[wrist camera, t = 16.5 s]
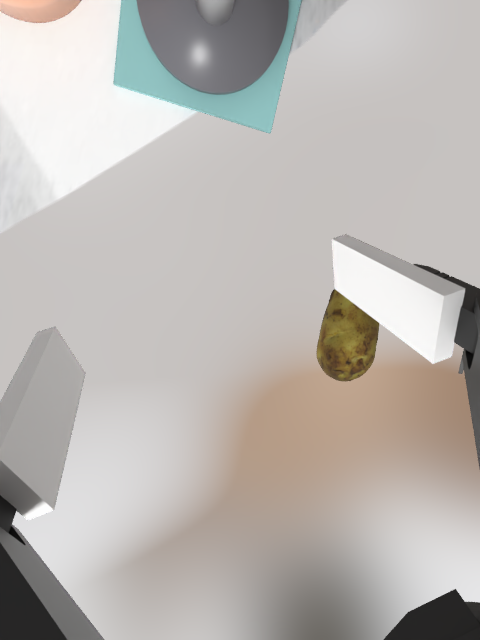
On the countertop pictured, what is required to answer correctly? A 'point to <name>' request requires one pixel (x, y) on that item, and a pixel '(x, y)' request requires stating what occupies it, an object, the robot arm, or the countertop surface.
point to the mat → (154, 80)
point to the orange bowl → (37, 9)
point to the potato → (346, 339)
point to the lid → (215, 40)
